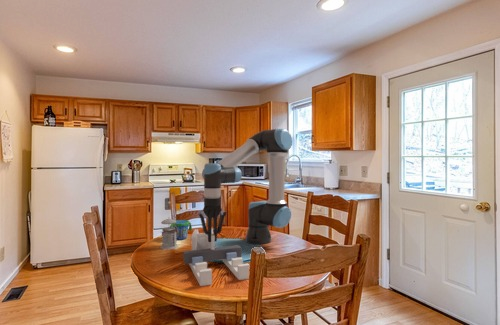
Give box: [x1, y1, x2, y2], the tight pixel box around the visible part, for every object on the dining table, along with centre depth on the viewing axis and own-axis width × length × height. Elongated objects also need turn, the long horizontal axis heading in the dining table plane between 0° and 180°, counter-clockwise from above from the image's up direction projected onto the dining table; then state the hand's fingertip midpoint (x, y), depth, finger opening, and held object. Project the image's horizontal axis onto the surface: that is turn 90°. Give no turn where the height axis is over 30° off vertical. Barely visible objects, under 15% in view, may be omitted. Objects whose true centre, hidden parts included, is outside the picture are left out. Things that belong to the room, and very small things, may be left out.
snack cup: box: [169, 219, 193, 241], centre depth 181 cm, size 16×10×10 cm
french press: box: [159, 201, 179, 251], centre depth 163 cm, size 10×12×25 cm
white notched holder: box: [188, 252, 251, 287], centre depth 129 cm, size 20×26×6 cm
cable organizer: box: [190, 228, 213, 250], centre depth 151 cm, size 15×11×12 cm
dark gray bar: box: [182, 244, 242, 265], centre depth 136 cm, size 26×4×4 cm, turn 111°
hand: (212, 248), depth 136 cm, fingers closed
